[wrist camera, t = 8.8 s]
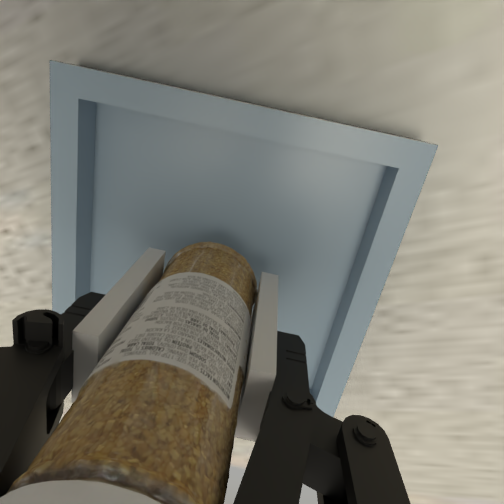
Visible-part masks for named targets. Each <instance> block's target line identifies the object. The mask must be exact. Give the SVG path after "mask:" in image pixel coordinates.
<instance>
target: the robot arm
mask: <svg viewBox="0 0 504 504" xmlns="http://www.w3.org/2000/svg"><path fill="white" fill-rule="evenodd" d="M165 253H166V251H164V250H159V249H155V248H150V247H149V248H148V249H147V250H146V251H145V252H144V254H143V255H142V256H141V257H140V258H139V259H138V260H137V261H136V262H135V263H134V264H133V266H132V267H131V268H130V269H129V270H128V271H127V272H126V273H125V274H124V275H123V276H122V278H121V279H120V280H119V281H118V282H117V283H116V284H115V285H114V286H113V287H112V288H111V290H110V291H109V292H108V293H107V294H106V295H105V294H100V293H95V292H90V293H87V294H85V295H83V296H81V297H79V298H78V299H77V300H76V301H75V302H74V303H73V304H72V305H71V306H69V307H68V308H67V309H66V310H65V312H64V313H62V314H59V313H57V312H55V311H51V310H33V311H28V312H25V313H23V314H20V315H18V316H17V317H16V318H15V319H13V320H12V322H13V339H14V345H13V346H12V347H0V497H2V496H4V495H6V494H7V492H8V490H9V489H10V487H11V486H12V484H13V483H14V481H15V480H16V479H17V478H19V477H20V476H21V475H22V474H24V473H25V472H26V471H27V470H28V468H29V466H30V464H31V463H32V462H33V460H34V459H35V457H36V456H37V455H38V453H39V452H40V450H41V449H42V447H43V445H44V444H45V443H46V441H47V440H48V439H49V438H50V436H51V435H52V433H53V432H54V430H55V429H56V427H57V426H58V424H59V421H60V419H61V416H62V414H63V407H64V399H65V398H66V396H67V395H68V394H69V392H70V391H71V389H72V403H74V402H75V400H76V399H77V396H78V393H79V391H80V389H81V387H82V385H83V384H84V382H85V381H86V379H87V378H88V376H89V375H90V374H91V372H92V371H93V369H94V368H95V367H96V365H97V364H98V363H99V361H100V360H101V358H102V357H103V356H104V354H105V353H106V351H107V350H108V349H109V347H110V346H111V344H112V343H113V342H114V340H115V339H116V337H117V336H118V335H119V333H120V332H121V330H122V329H123V328H124V326H125V325H126V323H127V322H128V320H129V319H130V317H131V316H132V315H133V313H134V312H135V310H136V309H137V307H138V306H139V305H140V303H141V302H142V301H143V299H144V298H145V296H146V295H147V294H148V292H149V291H150V290H151V288H153V287H154V286H155V285H156V284H157V283H158V282H159V280H160V279H161V277H162V276H163V270H164V261H165ZM277 318H278V275H275V274H270V273H266V272H262V274H261V278H260V282H259V287H258V291H257V295H256V299H255V304H254V308H253V312H252V316H251V337H250V344H249V351H248V359H247V366H246V374H245V380H244V384H243V387H242V390H241V396H240V404H239V409H238V416H237V426H236V431H235V435H234V437H236V438H241V439H245V440H250V441H255V445H254V448H253V450H252V453H251V456H250V459H249V462H248V464H247V467H246V470H245V473H244V476H243V478H242V481H241V484H240V487H239V489H238V492H237V495H236V498H235V501H234V503H233V504H299V499H300V494H301V488H302V483H303V484H305V485H307V486H308V487H311V488H312V489H314V490H316V491H317V498H318V504H410V501H409V498H408V495H407V492H406V489H405V486H404V483H403V480H402V477H401V474H400V471H399V468H398V465H397V462H396V459H395V456H394V453H393V450H392V447H391V444H390V441H389V438H388V437H387V435H386V433H385V431H384V430H383V429H382V428H381V427H380V426H379V425H378V424H377V423H376V422H374V421H372V420H371V419H369V418H367V417H364V416H361V415H351V416H349V417H346V418H345V420H344V421H343V422H342V421H340V420H338V419H336V418H334V417H332V416H330V415H328V414H326V413H324V412H323V411H322V410H321V409H319V408H318V407H317V406H316V401H315V399H314V398H313V396H312V395H311V394H310V390H309V380H308V369H307V359H306V348H305V344H304V342H303V341H302V339H301V338H300V336H299V335H295V334H290V333H286V332H281V331H277Z"/></svg>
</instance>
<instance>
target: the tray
mask: <svg viewBox="0 0 504 504" xmlns="http://www.w3.org/2000/svg"><path fill="white" fill-rule="evenodd" d="M50 135H51V223H52V311H55V312H57V313H59V314H62V313H64V312H65V310H66V309H67V308H68V307H69V306H71V305H72V304H73V303H74V302H75V301H76V300H77V299H78V298H79V297H81V296H83V295H85V294H87V293H90V292H95V293H100V294H105V295H106V294H107V293H108V292H109V291H110V290H111V288H112V287H113V286H114V285H115V284H116V283H117V282H118V281H119V280H120V279H121V278H122V276H123V275H124V274H125V273H126V272H127V271H128V270H129V269H130V268H131V267H132V266H133V264H134V263H135V262H136V261H137V260H138V259H139V258H140V257H141V256H142V255H143V254H144V252H145V251H146V250H147V249H148V248H149V247H150V248H155V249H159V250H164V251H166V253H165V261H164V269H165V267H166V266H167V264H168V262H169V261H170V260H171V258H172V257H173V256H174V254H175V253H177V252H178V251H179V250H181V249H183V248H185V247H186V246H188V245H192V244H195V243H199V242H209V241H210V242H214V243H220V244H223V245H225V246H228V247H230V248H232V249H233V250H235V251H236V252H238V253H239V254H241V255H242V256H244V258H245V259H246V260H247V262H248V263H249V264H250V266H251V268H252V270H253V272H254V275H255V278H256V281H257V291H258V287H259V282H260V278H261V274H262V272H266V273H270V274H275V275H278V318H277V331H281V332H286V333H290V334H295V335H299V336H300V338H301V339H302V341H303V342H304V344H305V348H306V359H307V369H308V380H309V390H310V394H311V395H312V396H313V398H314V399H315V401H316V406H317V407H318V408H319V409H321V410H322V411H323V412H324V413H326V414H328V415H330V416H332V417H333V416H334V414H335V411H336V409H337V406H338V403H339V401H340V398H341V396H342V393H343V391H344V388H345V385H346V383H347V380H348V378H349V375H350V372H351V370H352V367H353V365H354V362H355V359H356V357H357V354H358V352H359V349H360V347H361V344H362V341H363V339H364V336H365V334H366V331H367V328H368V326H369V323H370V321H371V318H372V316H373V313H374V310H375V308H376V305H377V303H378V300H379V297H380V295H381V292H382V290H383V287H384V285H385V282H386V279H387V277H388V274H389V272H390V269H391V266H392V264H393V261H394V259H395V256H396V253H397V251H398V248H399V246H400V243H401V241H402V238H403V235H404V233H405V230H406V228H407V225H408V222H409V220H410V217H411V215H412V212H413V210H414V207H415V204H416V202H417V199H418V197H419V194H420V191H421V189H422V186H423V184H424V181H425V179H426V176H427V173H428V171H429V168H430V166H431V163H432V160H433V158H434V155H435V153H436V150H437V148H438V145H435V144H431V143H428V142H424V141H421V140H416V139H412V138H407V137H403V136H398V135H394V134H389V133H384V132H380V131H375V130H371V129H366V128H362V127H357V126H352V125H348V124H343V123H339V122H334V121H330V120H325V119H321V118H316V117H311V116H307V115H302V114H298V113H293V112H289V111H284V110H280V109H275V108H270V107H266V106H261V105H257V104H252V103H248V102H243V101H239V100H234V99H229V98H225V97H220V96H216V95H211V94H207V93H202V92H197V91H193V90H188V89H184V88H179V87H175V86H170V85H166V84H161V83H156V82H152V81H147V80H143V79H138V78H134V77H129V76H125V75H120V74H115V73H111V72H106V71H102V70H97V69H93V68H88V67H84V66H79V65H74V64H68V63H63V62H57V61H52V60H50ZM163 273H164V270H163ZM254 304H255V303H254ZM253 308H254V305H253ZM253 308H252V312H253ZM251 316H252V315H251Z"/></svg>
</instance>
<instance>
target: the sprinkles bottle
mask: <svg viewBox="0 0 504 504" xmlns="http://www.w3.org/2000/svg"><path fill="white" fill-rule="evenodd" d="M256 295H257V281H256V278H255V275H254V272H253V270H252V268H251V266H250V264H249V263H248V262H247V260H246V259H245V258H244V256H242V255H241V254H239V253H238V252H236V251H235V250H233V249H232V248H230V247H228V246H225V245H223V244H220V243H214V242H210V241H209V242H199V243H195V244H192V245H188V246H186V247H185V248H183V249H181V250H179V251H178V252H177V253H175V254H174V256H173V257H172V258H171V260H170V261H169V262H168V264H167V266H166V267H165V269H164V273H163V276H162V277H161V279H160V280H159V282H158V283H157V284H156V285H155V286H154V287H153V288H151V290H150V291H149V292H148V294H147V295H146V296H145V298H144V299H143V301H142V302H141V303H140V305H139V306H138V307H137V309H136V310H135V312H134V313H133V315H132V316H131V317H130V319H129V320H128V322H127V323H126V325H125V326H124V328H123V329H122V330H121V332H120V333H119V335H118V336H117V337H116V339H115V340H114V342H113V343H112V344H111V346H110V347H109V349H108V350H107V351H106V353H105V354H104V356H103V357H102V358H101V360H100V361H99V363H98V364H97V365H96V367H95V368H94V369H93V371H92V372H91V374H90V375H89V376H88V378H87V379H86V381H85V382H84V384H83V385H82V387H81V389H80V391H79V393H78V396H77V399H76V400H75V402H74V403H73V404H72V406H71V408H70V409H69V410H68V411H67V413H66V414H65V415H64V417H63V418H62V420H61V422H60V423H59V424H58V426H57V427H56V429H55V430H54V432H53V433H52V435H51V436H50V438H49V439H48V440H47V441H46V443H45V444H44V445H43V447H42V449H41V450H40V452H39V453H38V455H37V456H36V457H35V459H34V460H33V462H32V463H31V464H30V466H29V468H28V470H27V471H26V472H25V473H24V474H22V475H21V476H20V477H19V478H17V479H16V480H15V481H14V483H13V484H12V486H11V487H10V489H9V490H8V492H7V494H6V495H4V496H2V497H0V504H224V500H225V493H226V489H227V483H228V478H229V468H230V462H231V454H232V450H233V444H234V435H235V431H236V426H237V416H238V409H239V404H240V396H241V390H242V387H243V384H244V380H245V374H246V366H247V359H248V351H249V344H250V337H251V315H252V308H253V305H254V303H255V299H256Z"/></svg>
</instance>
